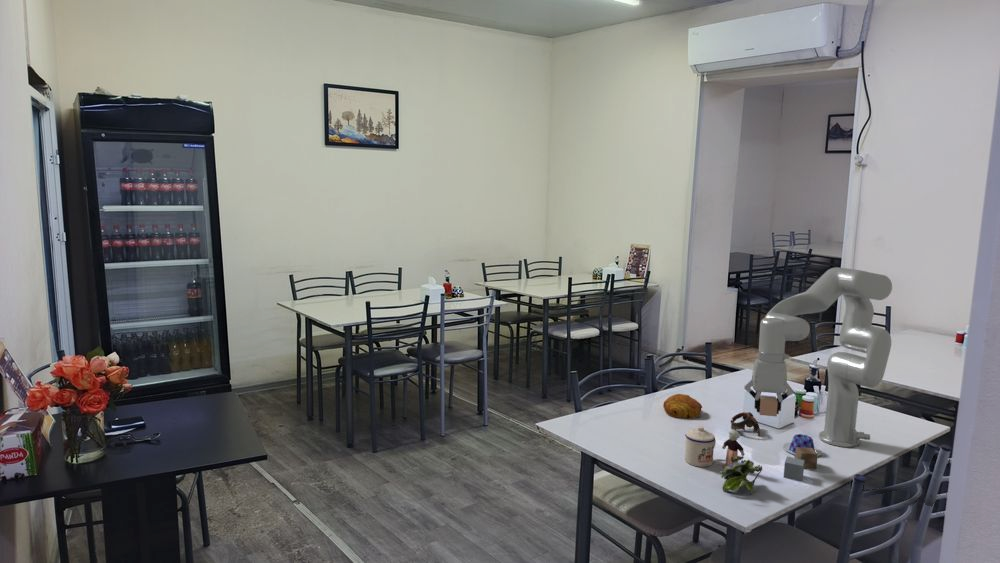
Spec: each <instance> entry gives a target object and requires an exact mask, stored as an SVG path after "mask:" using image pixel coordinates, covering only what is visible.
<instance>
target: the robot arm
mask: <svg viewBox="0 0 1000 563" xmlns="http://www.w3.org/2000/svg"><path fill="white" fill-rule="evenodd" d="M892 291H893V283H892V281H891V279H890V278H889V277H888V276H887V275H885V274H880V273H874V272H869V271H866V270H862V269H861V270H860V269H856V268H855V269H853V268H847V267H846V268H845V267H832V268H829V269H827V270H826V271H825V272H824V273H823V274H822V275H821V276H820V277H819V278H818V279H817V280H816V281H815V282H814V283H813V284H812V285H811V286H810V287H809V288H808V289H807V290H806V291H804V292H799V293H797V294H794V295H792V296H790V297H787V298H784V299H782V300H781V301H779V302H778V303H776V304H775V305H774V306H773V307H772V308H771V309H770V310H769V311H768V312H767V313H766V315H765V316H764V318H762V319H761V320H760V324H759V339H758V352H757V353H758V355H757V358H755V360H754V363H753V369H752V375H751V379H750V380H749V381H748V382H747V383H746V384H745V385H744V388H743V389H744V390H745V391H746V392H747V393H749V394H750V395H751V397H752V398H754V409H755V411H756V413H759V412H760V398H759V397H760V395H762V393H770V394H772V393H773V394H776V398H777V401H778V405H777V415H779V412H781V411H782V403H783V401H784V400H786V399H787V398H788V397H790V396H792V395H793V394H794V393H795V391H794V390H793V389H792V387H791V386H790V384H789V383H788V370H787V362H786V361H785V360H787V359H788V360H789V359H790V354H787V353H786V352H785V349H786V348H785V347H786V342H787V341H788V342H790V341H791V342H799V341H803V340H804V339H806V338H807V336H809V334H810V332H811V331H810V330H811V329H810V328H811V327H810V324H809V323H808V321H807V320H806V319H804V318H802V317H798V316H800V315H807V314H810V315H811V314H816V313H821V312H826V311H827V310H828V309H829V308H830V307H831V306H832V305H833V304H834V303H835V302H836V301H837V300H838V299H839V298H840V297H841V296H843V299H844V301H845V313H844V315H843V316H844V317H843V319H842V323H841V329H840V332H839V338H838V342H839V344H840V346H841V347H843V348H846V349H849V350H851V351H856V352H860V353H864V354H866V357H865V356H861V355H857V354H854V353H849V352H844V351H837V352H835V353H832V354H831V355H830V356H829V357H828V359H827V362H826V365H827V376H828V377H827V378H828V387H827V398H826V399H827V400H826V408H825V417H824V419H825V420H824V428H823V431H820V432H819V433H818V438H819V439H820V440H821V441H822V442H824V443H826V444H829V445H833V446H835V447H836V446H837V447H843V448H853V447H854V446H855V447H858V446H859V445H860V440H865V441H870V440H871V434H869V433H865V432H864V431H857V429H856V426H857V425H856V424H857V417H858V416H857V415H858V406H859V395H860V394H859V393H860V392H859V389H858V386H857V385H859V386H862V387H866V388H876V387H878V386H879V385H880V384H881V383H882V382H883V378H884V377H885V371H886V368H887V365H888V360H889V356H890V353H891V348H892V337H891V334H890V333H889V331H888V330H887V329H885V328H883V327H878V326H874V325H873V324H872V323H873V318H874V313H875V312H874V310H875V309H874V306H873V303H872V301H871V300H875V301H882V300H886V299H888V297H889V296H890V295H891V293H892Z"/></svg>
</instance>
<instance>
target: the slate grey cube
mask: <svg viewBox="0 0 1000 563" xmlns="http://www.w3.org/2000/svg"><path fill="white" fill-rule="evenodd" d="M804 462H805V460H801V459H797V458H795V457H791V456H786V458H785V461H784V467H783V478H785V479H789V480H793V481H798V482H802V481H803V477H804V472H805V468H804Z"/></svg>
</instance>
